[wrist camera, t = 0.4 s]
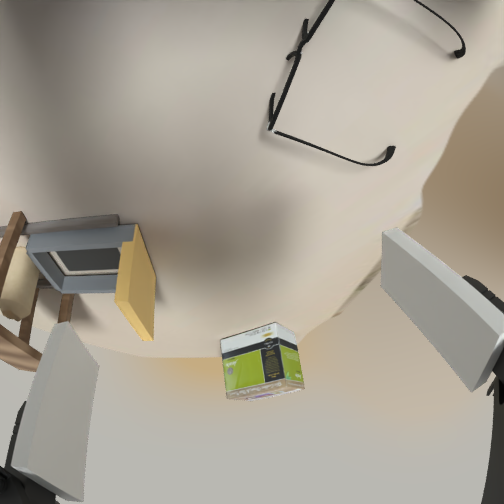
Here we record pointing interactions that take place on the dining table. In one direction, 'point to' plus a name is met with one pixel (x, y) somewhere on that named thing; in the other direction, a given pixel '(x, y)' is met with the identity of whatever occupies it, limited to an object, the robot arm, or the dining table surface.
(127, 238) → the yellow panel grey frame
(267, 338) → the tea box
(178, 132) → the dining table surface
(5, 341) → the wooden stand with rails
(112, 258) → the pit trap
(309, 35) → the eyeglasses
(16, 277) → the candle
